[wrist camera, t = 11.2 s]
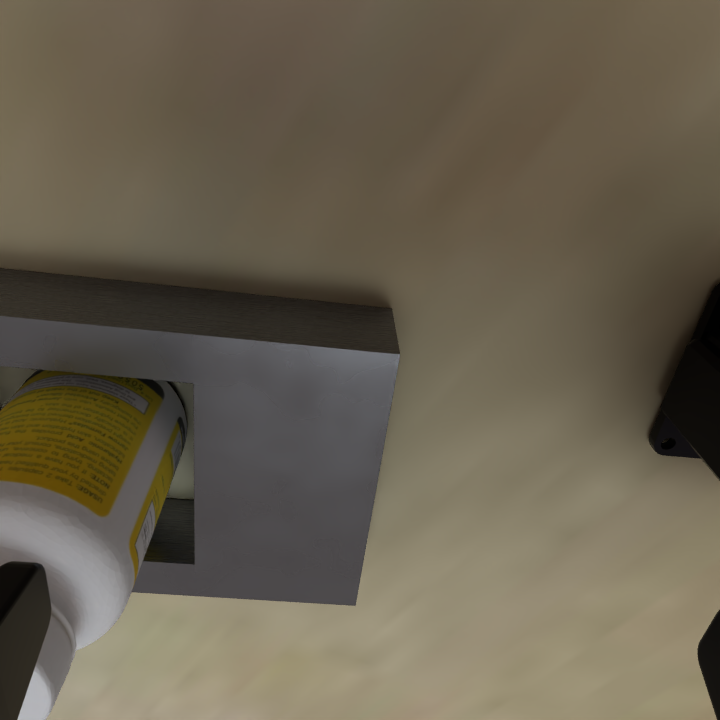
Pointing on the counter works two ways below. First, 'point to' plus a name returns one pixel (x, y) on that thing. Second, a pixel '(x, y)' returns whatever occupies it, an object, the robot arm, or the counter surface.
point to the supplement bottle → (83, 500)
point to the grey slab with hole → (236, 422)
